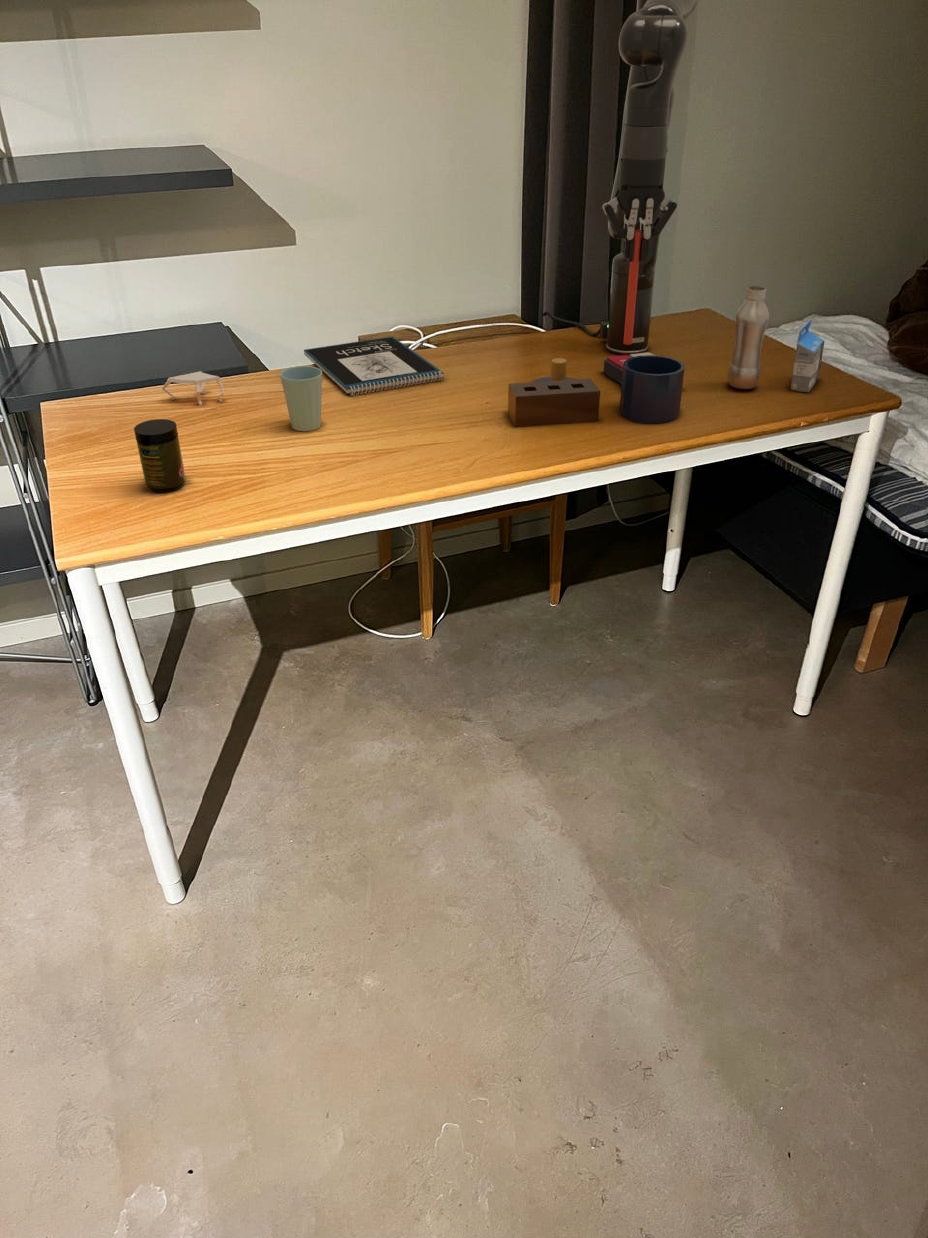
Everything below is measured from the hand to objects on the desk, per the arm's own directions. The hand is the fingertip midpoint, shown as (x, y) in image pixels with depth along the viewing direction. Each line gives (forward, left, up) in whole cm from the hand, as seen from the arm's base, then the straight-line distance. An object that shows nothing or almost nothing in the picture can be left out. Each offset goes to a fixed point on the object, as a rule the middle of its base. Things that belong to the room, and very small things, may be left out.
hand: (634, 259), depth 176 cm
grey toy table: (-23, -83, -29) cm, 90 cm away
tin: (0, +5, -29) cm, 29 cm away
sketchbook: (-36, -46, -29) cm, 65 cm away
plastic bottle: (-10, +28, -29) cm, 42 cm away
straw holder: (-1, -14, -29) cm, 32 cm away
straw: (0, 0, -15) cm, 15 cm away
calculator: (-17, +9, -29) cm, 35 cm away
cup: (-5, -61, -29) cm, 67 cm away
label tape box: (-9, +41, -29) cm, 51 cm away
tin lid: (-13, -10, -28) cm, 33 cm away
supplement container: (+17, -85, -29) cm, 91 cm away
